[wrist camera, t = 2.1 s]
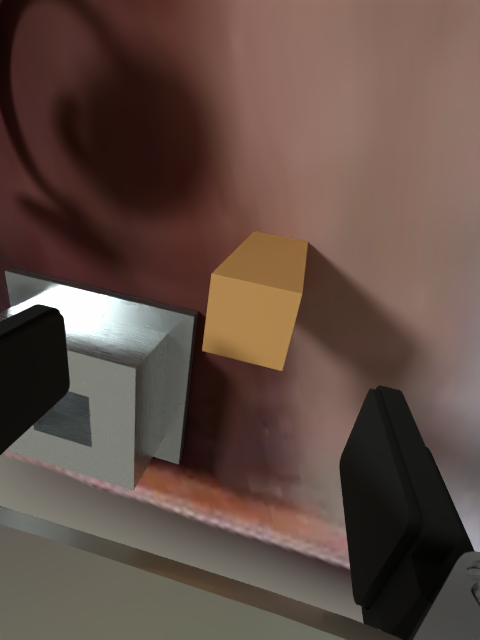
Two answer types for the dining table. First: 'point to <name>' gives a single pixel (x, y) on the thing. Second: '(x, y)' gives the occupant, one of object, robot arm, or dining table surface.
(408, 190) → the dining table surface
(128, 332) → the square hole block
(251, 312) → the orange rectangular block
